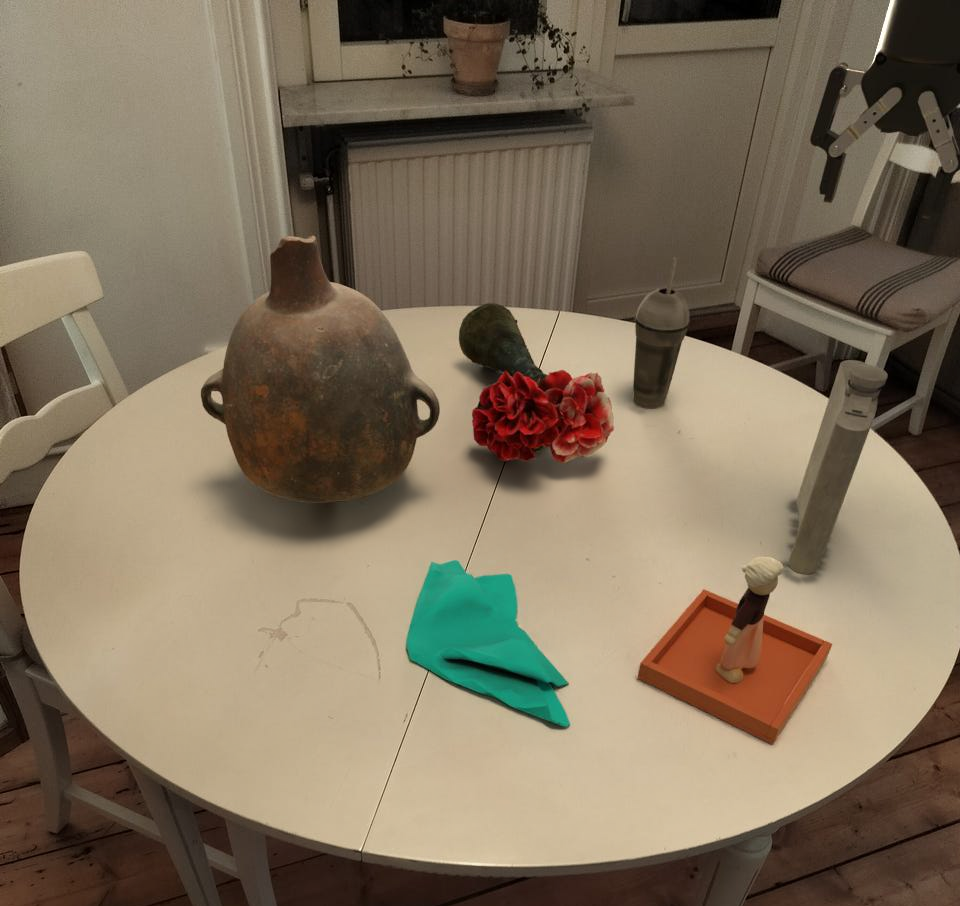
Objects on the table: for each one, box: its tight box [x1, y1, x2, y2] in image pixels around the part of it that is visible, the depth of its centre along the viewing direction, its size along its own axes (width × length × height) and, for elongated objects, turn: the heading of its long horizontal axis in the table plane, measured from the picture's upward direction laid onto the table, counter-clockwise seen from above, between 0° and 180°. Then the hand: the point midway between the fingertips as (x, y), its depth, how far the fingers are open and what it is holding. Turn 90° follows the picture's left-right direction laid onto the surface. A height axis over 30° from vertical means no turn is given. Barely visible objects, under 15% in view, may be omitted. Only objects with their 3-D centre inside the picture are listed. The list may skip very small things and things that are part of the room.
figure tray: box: [637, 588, 833, 745], centre depth 82 cm, size 14×14×2 cm
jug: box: [200, 235, 441, 504], centre depth 94 cm, size 24×21×30 cm
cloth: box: [406, 559, 571, 728], centre depth 84 cm, size 26×14×2 cm, turn 16°
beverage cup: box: [632, 257, 691, 409], centre depth 115 cm, size 7×7×20 cm
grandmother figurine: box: [715, 556, 784, 683], centre depth 78 cm, size 8×4×13 cm, turn 155°
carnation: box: [458, 302, 615, 464], centre depth 113 cm, size 16×18×35 cm
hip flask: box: [787, 359, 889, 575], centre depth 92 cm, size 16×4×20 cm, turn 161°
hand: (876, 208), depth 78 cm, fingers open, 8 cm apart
